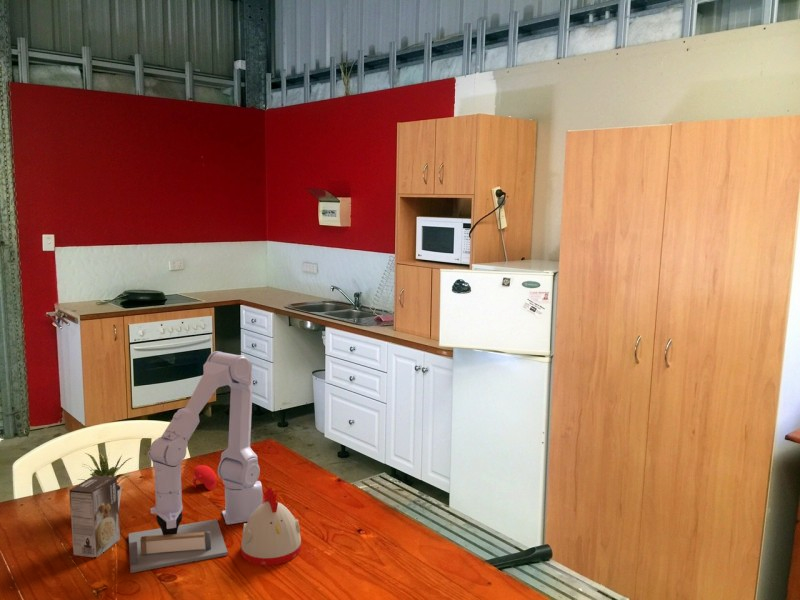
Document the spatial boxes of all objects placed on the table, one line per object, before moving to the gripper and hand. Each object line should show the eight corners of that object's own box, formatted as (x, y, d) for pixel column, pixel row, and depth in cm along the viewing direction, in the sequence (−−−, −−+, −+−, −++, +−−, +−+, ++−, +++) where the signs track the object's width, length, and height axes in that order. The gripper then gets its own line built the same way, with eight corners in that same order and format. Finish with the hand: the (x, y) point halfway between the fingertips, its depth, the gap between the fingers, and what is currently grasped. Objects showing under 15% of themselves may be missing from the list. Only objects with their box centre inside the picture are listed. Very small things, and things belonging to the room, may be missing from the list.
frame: (216, 522, 174) (216, 503, 174) (227, 555, 158) (227, 534, 157) (128, 536, 166) (127, 517, 166) (130, 573, 150) (129, 551, 149)
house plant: (60, 517, 176) (57, 457, 174) (102, 497, 189) (99, 440, 186) (103, 528, 171) (99, 465, 168) (143, 505, 183) (140, 447, 181)
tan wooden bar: (204, 546, 160) (204, 531, 159) (204, 549, 158) (203, 534, 158) (142, 551, 157) (141, 536, 156) (140, 554, 156) (140, 539, 155)
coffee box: (97, 536, 166) (94, 474, 164) (121, 539, 165) (118, 476, 163) (72, 555, 157) (68, 489, 155) (97, 558, 156) (93, 492, 154)
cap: (184, 476, 196) (192, 470, 192) (200, 463, 200) (208, 458, 196) (201, 498, 196) (209, 493, 192) (216, 485, 200) (225, 480, 196)
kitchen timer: (250, 570, 152) (248, 506, 150) (234, 543, 164) (233, 484, 162) (309, 556, 158) (308, 495, 156) (290, 531, 170) (289, 474, 168)
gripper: (148, 479, 162) (150, 533, 164) (151, 504, 149) (153, 562, 151) (179, 475, 165) (181, 528, 167) (185, 499, 152) (186, 556, 153)
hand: (170, 544), depth 159 cm, fingers closed
